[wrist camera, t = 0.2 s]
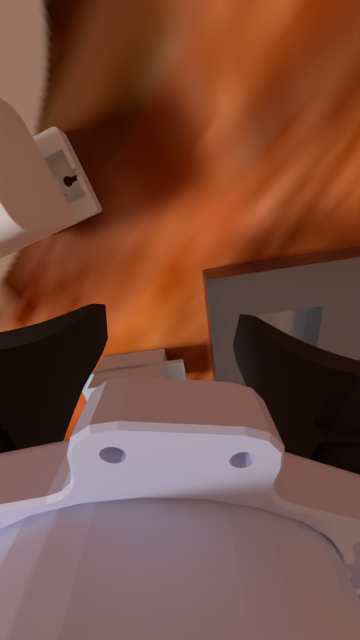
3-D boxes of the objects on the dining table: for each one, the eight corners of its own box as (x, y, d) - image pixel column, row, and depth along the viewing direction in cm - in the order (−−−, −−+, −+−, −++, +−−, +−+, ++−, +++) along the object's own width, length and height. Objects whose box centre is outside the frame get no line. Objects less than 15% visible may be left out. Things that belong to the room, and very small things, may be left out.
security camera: (-19, 166, 16) (-249, 118, 8) (60, 123, 15) (-100, 7, 6) (35, 248, 19) (-87, 283, 10) (106, 216, 18) (37, 224, 9)
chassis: (330, 382, 27) (347, 401, 24) (215, 395, 27) (219, 416, 25) (359, 246, 19) (388, 252, 17) (202, 270, 20) (206, 280, 18)
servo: (182, 345, 24) (184, 384, 19) (187, 373, 26) (190, 416, 21) (86, 358, 25) (61, 399, 19) (97, 384, 27) (77, 429, 21)
